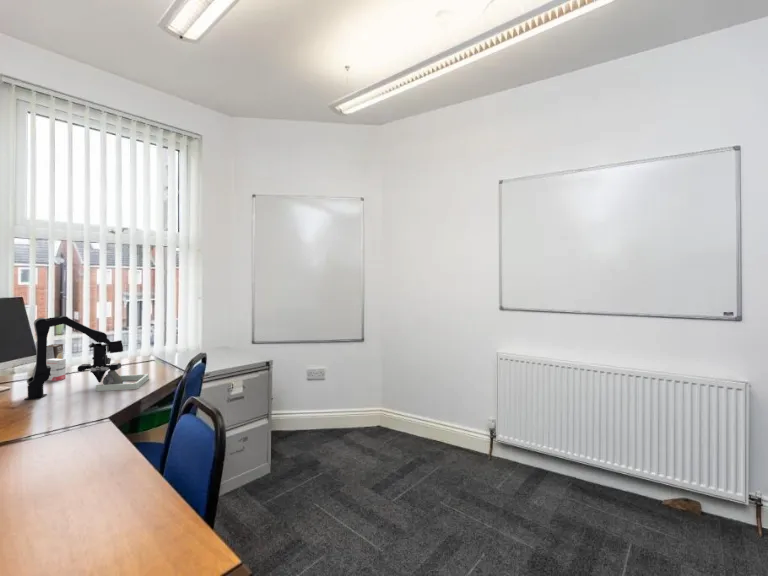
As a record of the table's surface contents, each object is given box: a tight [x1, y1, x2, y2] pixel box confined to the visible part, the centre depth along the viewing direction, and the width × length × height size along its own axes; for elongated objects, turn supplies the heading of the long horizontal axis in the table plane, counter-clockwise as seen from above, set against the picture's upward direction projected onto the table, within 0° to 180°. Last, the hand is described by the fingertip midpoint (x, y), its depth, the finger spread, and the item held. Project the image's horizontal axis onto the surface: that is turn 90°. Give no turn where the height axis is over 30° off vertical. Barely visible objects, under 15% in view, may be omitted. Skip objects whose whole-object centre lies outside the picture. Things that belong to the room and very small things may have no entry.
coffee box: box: [46, 343, 64, 360], centre depth 237 cm, size 9×6×16 cm
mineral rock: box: [102, 369, 124, 385], centre depth 208 cm, size 13×11×10 cm
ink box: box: [46, 358, 67, 382], centre depth 218 cm, size 9×5×12 cm, turn 84°
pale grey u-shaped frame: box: [95, 373, 150, 392], centre depth 210 cm, size 19×19×3 cm
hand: (99, 382), depth 207 cm, fingers closed
